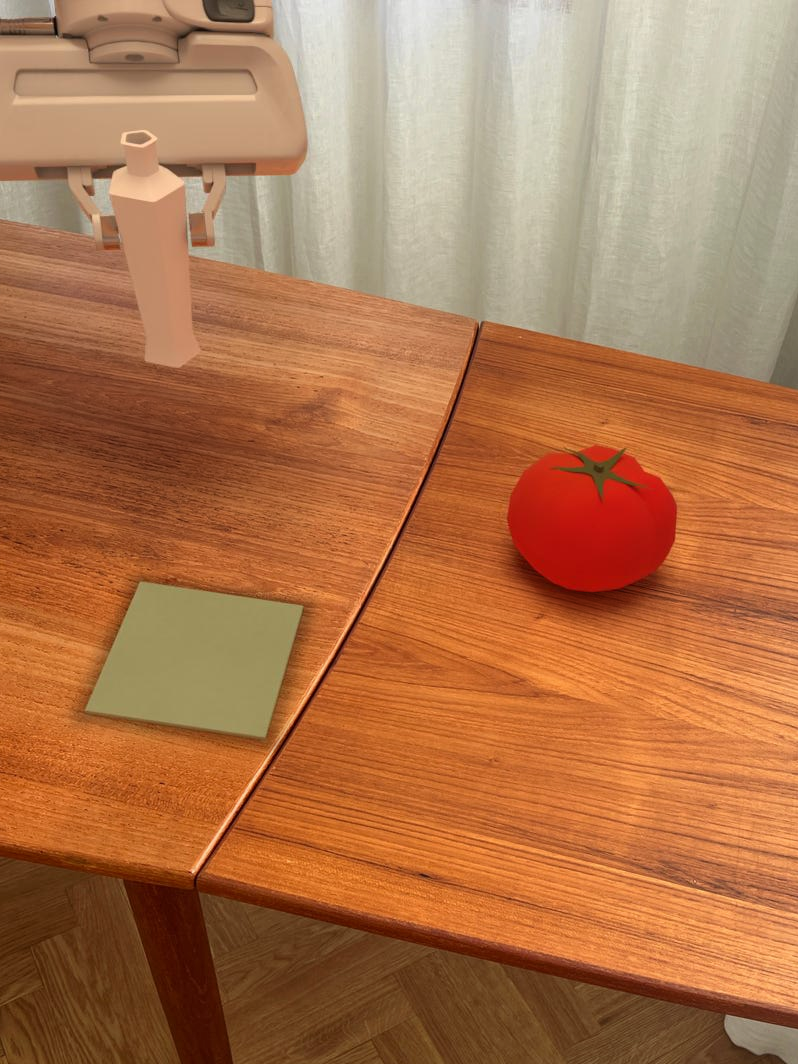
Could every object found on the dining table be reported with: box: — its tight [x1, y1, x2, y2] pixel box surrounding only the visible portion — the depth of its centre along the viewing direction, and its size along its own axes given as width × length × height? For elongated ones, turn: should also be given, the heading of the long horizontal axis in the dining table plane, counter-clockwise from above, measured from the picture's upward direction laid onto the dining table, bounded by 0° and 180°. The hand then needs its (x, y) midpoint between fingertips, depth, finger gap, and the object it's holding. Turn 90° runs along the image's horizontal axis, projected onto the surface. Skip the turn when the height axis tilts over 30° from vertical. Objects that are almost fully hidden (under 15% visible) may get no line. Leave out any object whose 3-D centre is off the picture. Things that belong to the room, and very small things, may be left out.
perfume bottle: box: [108, 130, 202, 369], centre depth 74 cm, size 5×4×15 cm
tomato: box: [506, 444, 678, 593], centre depth 86 cm, size 11×13×10 cm
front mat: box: [84, 581, 305, 741], centre depth 80 cm, size 12×12×1 cm
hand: (156, 246), depth 73 cm, fingers closed on perfume bottle, 4 cm apart
